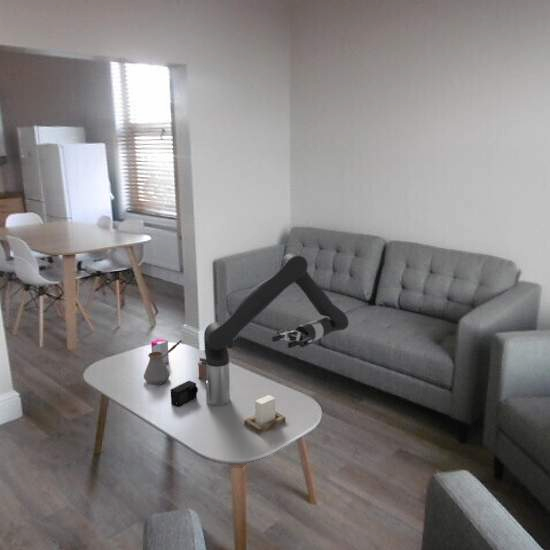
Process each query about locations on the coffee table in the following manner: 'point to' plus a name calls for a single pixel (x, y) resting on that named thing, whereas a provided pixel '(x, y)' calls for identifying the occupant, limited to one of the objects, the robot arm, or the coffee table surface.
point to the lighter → (202, 369)
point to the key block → (264, 410)
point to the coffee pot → (157, 367)
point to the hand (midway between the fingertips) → (280, 342)
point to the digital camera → (183, 393)
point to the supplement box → (161, 348)
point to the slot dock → (261, 429)
